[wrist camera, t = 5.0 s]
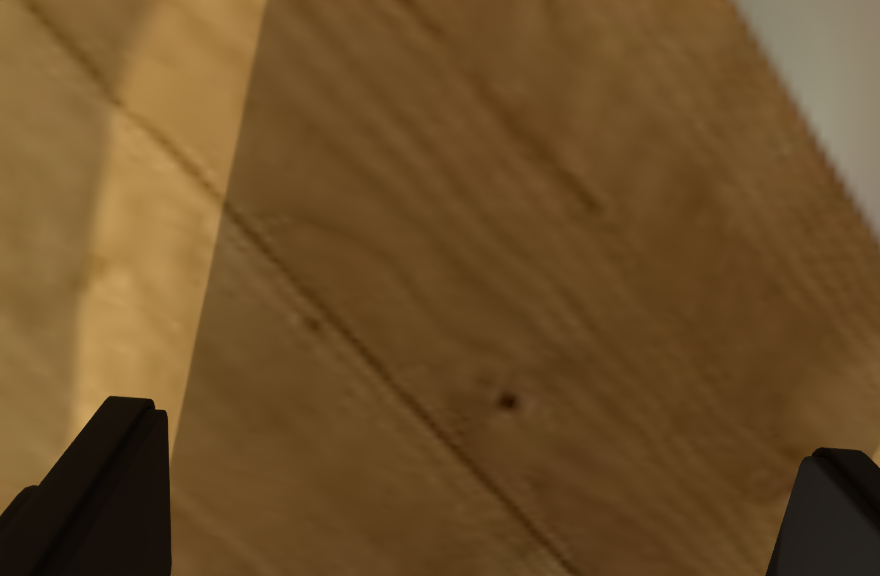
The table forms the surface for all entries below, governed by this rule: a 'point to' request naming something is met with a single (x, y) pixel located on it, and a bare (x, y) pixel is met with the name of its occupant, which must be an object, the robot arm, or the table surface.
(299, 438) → the table surface
